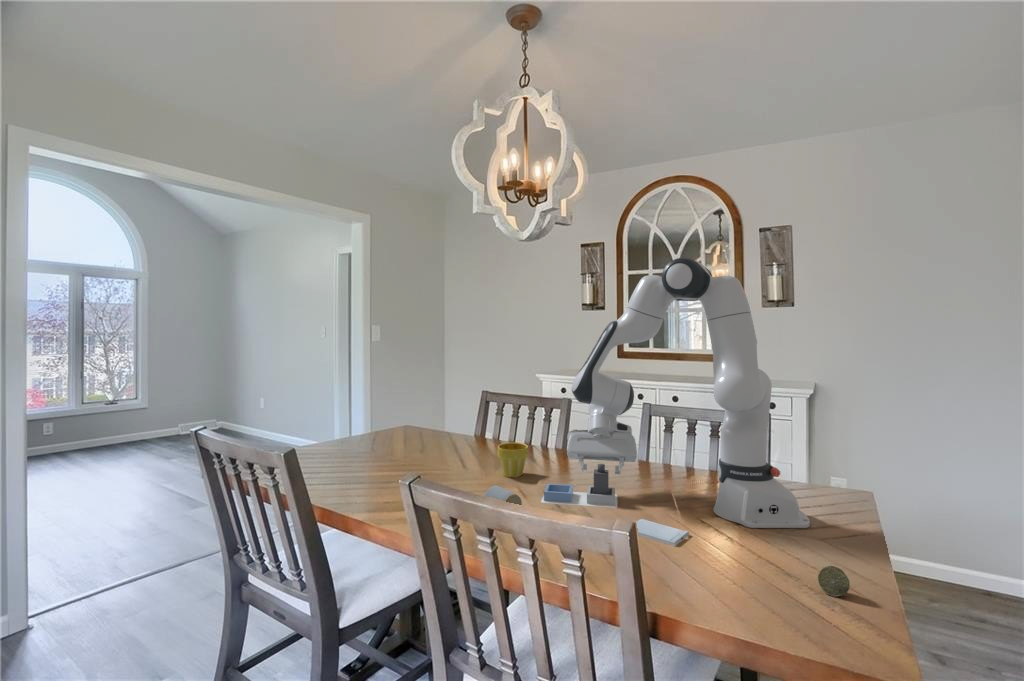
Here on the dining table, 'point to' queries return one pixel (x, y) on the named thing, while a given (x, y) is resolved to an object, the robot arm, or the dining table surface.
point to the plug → (601, 480)
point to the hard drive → (660, 532)
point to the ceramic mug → (503, 495)
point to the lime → (833, 581)
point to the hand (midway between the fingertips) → (600, 472)
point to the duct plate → (578, 496)
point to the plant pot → (512, 458)
